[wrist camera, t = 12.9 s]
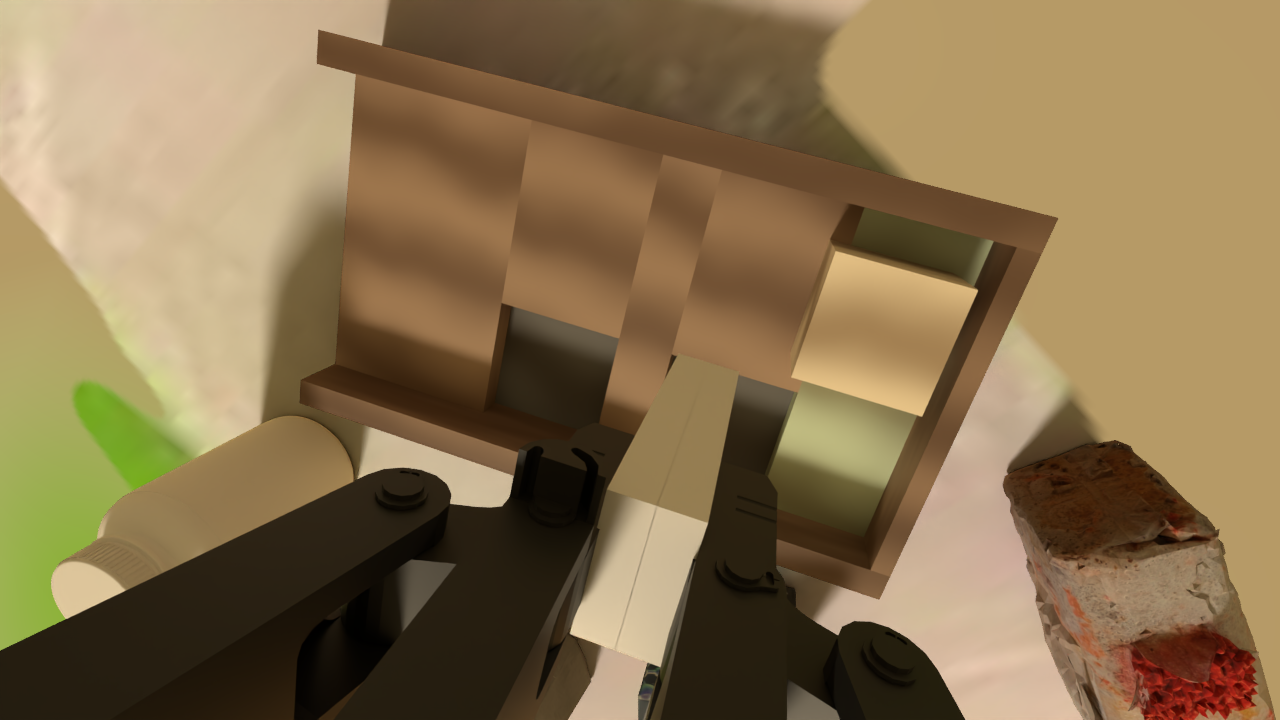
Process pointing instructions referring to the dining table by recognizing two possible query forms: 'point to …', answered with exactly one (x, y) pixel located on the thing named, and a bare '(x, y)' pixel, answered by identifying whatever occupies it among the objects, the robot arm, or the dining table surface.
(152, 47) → the dining table surface
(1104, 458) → the food item
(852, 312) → the block
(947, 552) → the dining table surface
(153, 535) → the pill bottle
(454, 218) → the divided wooden tray
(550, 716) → the coffeepot
